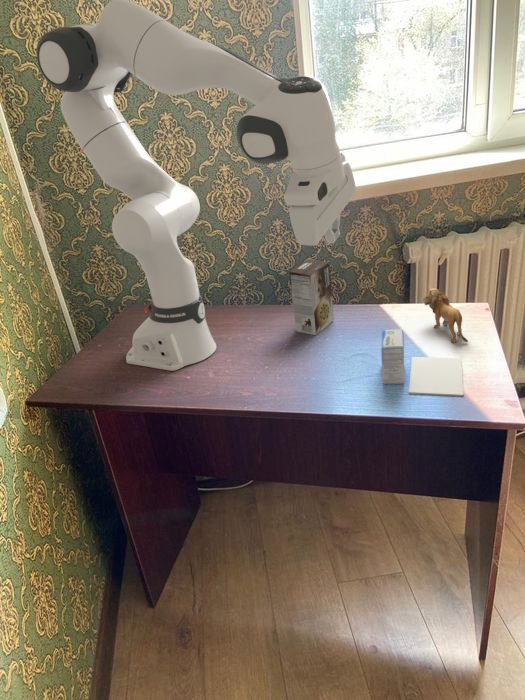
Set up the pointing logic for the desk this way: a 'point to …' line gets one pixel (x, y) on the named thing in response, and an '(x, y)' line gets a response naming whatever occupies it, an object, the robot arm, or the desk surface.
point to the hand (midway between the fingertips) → (333, 239)
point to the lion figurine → (444, 312)
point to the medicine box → (392, 356)
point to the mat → (436, 376)
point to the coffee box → (312, 296)
